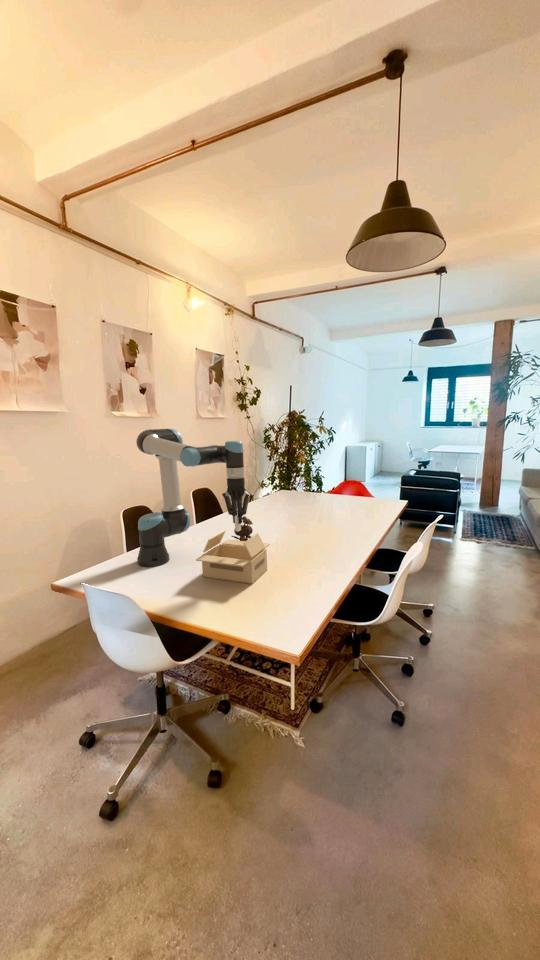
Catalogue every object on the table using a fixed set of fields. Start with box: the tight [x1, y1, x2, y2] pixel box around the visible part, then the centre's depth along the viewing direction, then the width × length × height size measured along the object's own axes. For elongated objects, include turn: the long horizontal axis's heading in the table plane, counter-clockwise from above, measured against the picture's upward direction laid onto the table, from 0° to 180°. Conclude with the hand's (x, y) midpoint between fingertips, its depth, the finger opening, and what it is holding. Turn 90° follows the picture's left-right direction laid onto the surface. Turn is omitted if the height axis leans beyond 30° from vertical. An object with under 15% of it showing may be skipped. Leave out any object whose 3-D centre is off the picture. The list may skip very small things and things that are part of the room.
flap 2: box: [243, 532, 266, 558], centre depth 164 cm, size 1×14×7 cm, turn 157°
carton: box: [195, 539, 271, 585], centre depth 169 cm, size 24×28×10 cm
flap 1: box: [203, 529, 226, 553], centre depth 171 cm, size 1×14×7 cm, turn 160°
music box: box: [231, 515, 254, 541], centre depth 194 cm, size 15×11×20 cm
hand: (238, 530), depth 166 cm, fingers closed
